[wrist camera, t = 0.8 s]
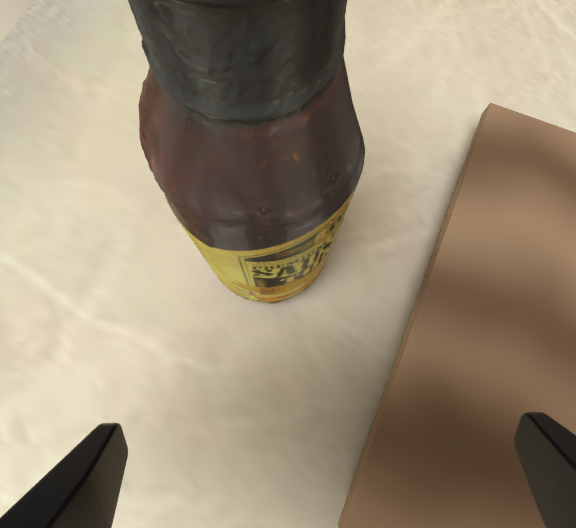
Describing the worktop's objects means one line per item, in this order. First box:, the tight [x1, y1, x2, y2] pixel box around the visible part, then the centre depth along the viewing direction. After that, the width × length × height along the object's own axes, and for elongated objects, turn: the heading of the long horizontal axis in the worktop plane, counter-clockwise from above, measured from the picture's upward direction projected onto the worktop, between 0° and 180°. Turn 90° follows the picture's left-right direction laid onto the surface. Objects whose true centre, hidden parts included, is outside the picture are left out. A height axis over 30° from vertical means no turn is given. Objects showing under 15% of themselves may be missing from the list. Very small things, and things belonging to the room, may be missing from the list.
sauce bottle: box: [128, 0, 365, 303], centre depth 14 cm, size 6×6×20 cm
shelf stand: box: [338, 103, 576, 528], centre depth 21 cm, size 22×14×3 cm, turn 158°
